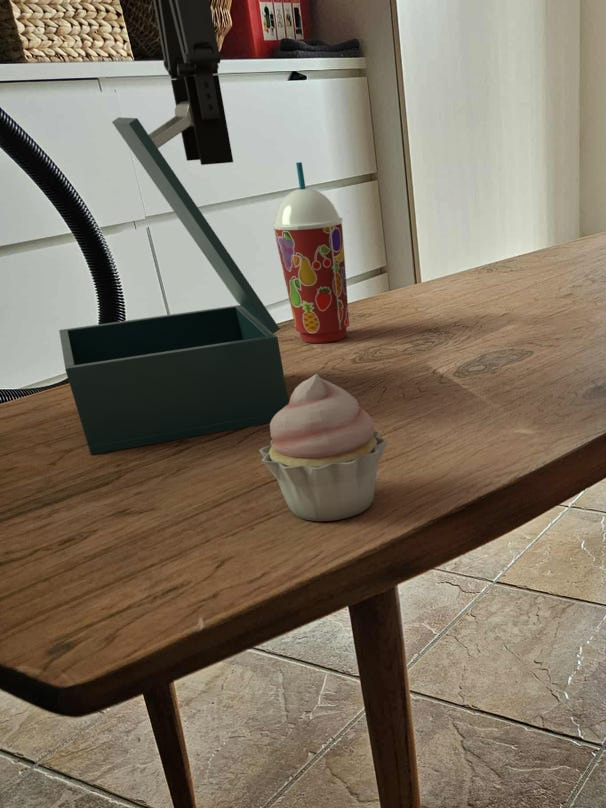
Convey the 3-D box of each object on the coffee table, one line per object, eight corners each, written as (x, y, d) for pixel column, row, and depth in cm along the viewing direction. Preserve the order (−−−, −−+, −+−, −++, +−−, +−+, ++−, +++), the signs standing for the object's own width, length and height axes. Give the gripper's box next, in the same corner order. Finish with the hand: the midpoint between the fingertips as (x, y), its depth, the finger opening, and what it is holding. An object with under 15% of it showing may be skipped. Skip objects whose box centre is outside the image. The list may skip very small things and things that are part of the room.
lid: (128, 123, 71) (198, 75, 71) (111, 122, 85) (170, 81, 85) (273, 334, 83) (332, 291, 83) (237, 302, 97) (288, 266, 97)
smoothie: (369, 333, 116) (349, 158, 106) (328, 348, 110) (301, 165, 100) (320, 328, 120) (296, 159, 110) (278, 343, 114) (247, 166, 104)
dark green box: (90, 455, 81) (65, 368, 77) (81, 405, 95) (58, 329, 91) (291, 418, 87) (277, 336, 83) (254, 376, 101) (241, 304, 97)
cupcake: (350, 540, 63) (329, 399, 58) (245, 521, 67) (217, 387, 61) (417, 491, 70) (404, 361, 65) (319, 476, 74) (299, 353, 68)
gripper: (218, -203, 63) (274, 162, 75) (178, -137, 80) (229, 153, 91) (107, -208, 61) (183, 170, 73) (89, -139, 77) (154, 159, 89)
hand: (209, 161), depth 82 cm, fingers closed on lid, 8 cm apart
